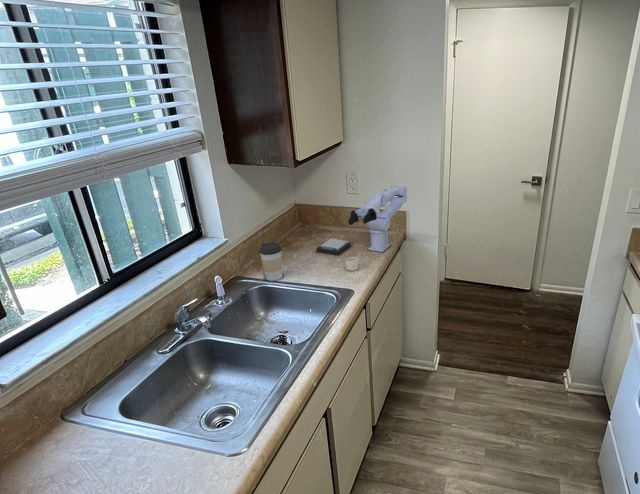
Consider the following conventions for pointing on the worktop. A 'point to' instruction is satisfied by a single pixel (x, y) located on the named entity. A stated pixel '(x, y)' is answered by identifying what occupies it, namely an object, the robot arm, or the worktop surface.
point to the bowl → (351, 263)
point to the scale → (334, 246)
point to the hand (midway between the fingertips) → (356, 222)
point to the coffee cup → (271, 260)
